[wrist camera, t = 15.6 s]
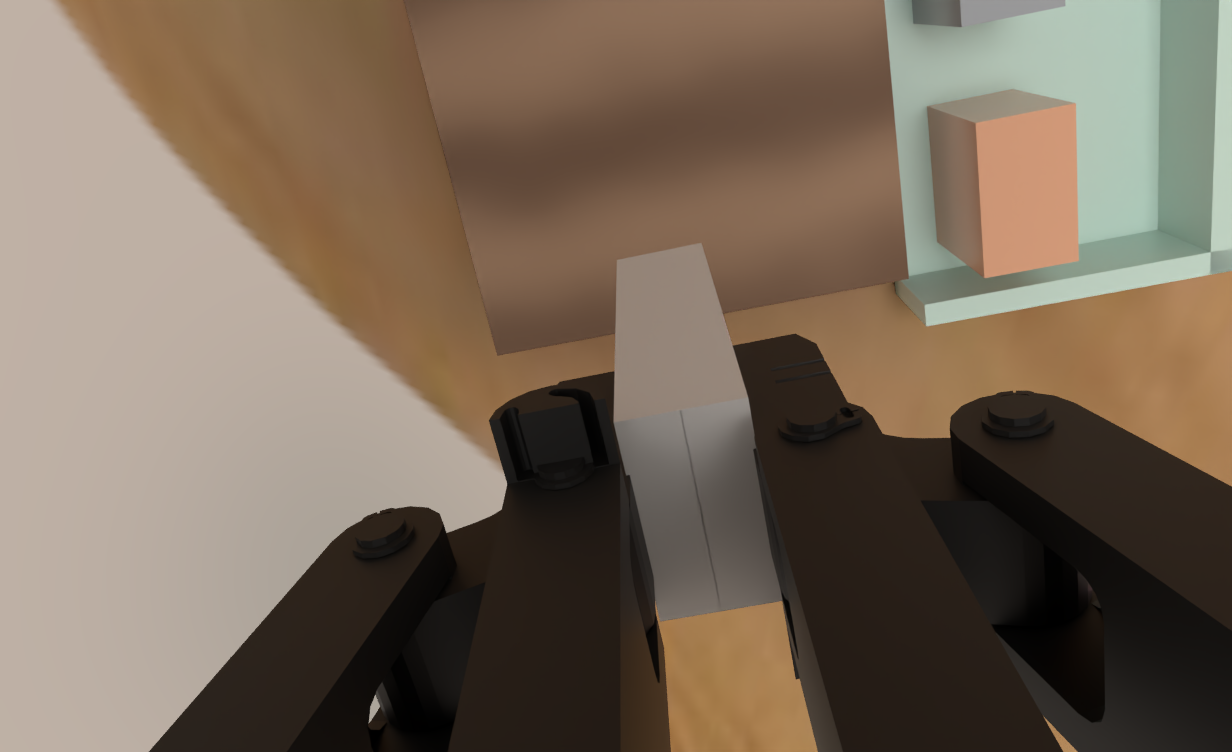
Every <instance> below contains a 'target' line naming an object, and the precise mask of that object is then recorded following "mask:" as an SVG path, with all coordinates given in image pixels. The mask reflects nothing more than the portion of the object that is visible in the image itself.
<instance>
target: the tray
mask: <svg viewBox="0 0 1232 752" xmlns="http://www.w3.org/2000/svg"><path fill="white" fill-rule="evenodd" d="M884 2H885V14H886V25H887V36H888V48H889V59H890V70H891V81H892V93H893V104H894V115H895V127H896V138H897V149H898V161H899V172H900V183H901V195H902V206H903V217H904V228H905V240H906V251H907V262H908V274H909V279H906V280H900V281H895V291H896V294H897V295H898V296H899V297H900V299H901V300H902V301H903V302H904V303H905V304H906V305H907V306H908V307H909V308H910V309H911V310H912V311H913V313H914V314H915V315H916V316H917V317H918V318H919V319H920V320H921V321H922V322H923V323H924V324H925V325H926V326H931V325H937V324H942V323H948V322H953V321H959V320H964V319H970V318H975V317H981V316H986V315H992V314H997V313H1003V312H1008V311H1014V310H1019V309H1025V308H1030V307H1036V306H1041V305H1047V304H1052V303H1058V302H1063V301H1069V300H1074V299H1080V298H1085V297H1091V296H1096V295H1102V294H1107V293H1113V292H1118V291H1124V290H1129V289H1135V288H1140V287H1146V286H1151V285H1157V284H1162V283H1168V282H1173V281H1179V280H1184V279H1189V278H1195V277H1200V276H1206V275H1211V274H1217V273H1222V272H1228V271H1232V0H1065V6H1064V7H1059V8H1054V9H1049V10H1044V11H1039V12H1034V13H1029V14H1024V15H1019V16H1015V17H1010V18H1005V19H1000V20H995V21H990V22H985V23H980V24H975V25H970V26H965V27H951V26H938V25H924V24H913V11H912V0H884ZM1010 89H1015V90H1019V91H1024V92H1028V93H1033V94H1037V95H1042V96H1046V97H1051V98H1055V99H1060V100H1064V101H1068V102H1073V103H1076V138H1077V192H1078V246H1079V261H1076V262H1071V263H1065V264H1060V265H1054V266H1049V267H1043V268H1038V269H1033V270H1027V271H1022V272H1016V273H1011V274H1005V275H1000V276H995V277H989V278H983V277H982V276H981V275H979V274H978V273H977V272H976V271H974V270H973V269H972V268H970V267H969V266H968V265H966V264H965V263H964V262H963V261H961V260H960V259H959V258H957V257H956V256H955V255H953V254H952V253H951V252H950V251H948V250H947V249H946V248H944V247H943V246H942V245H940V244H939V243H938V242H937V234H936V221H935V208H934V194H933V181H932V168H931V154H930V141H929V127H928V114H927V106H930V105H935V104H940V103H945V102H950V101H955V100H960V99H965V98H970V97H975V96H980V95H985V94H990V93H995V92H1000V91H1005V90H1010Z"/></svg>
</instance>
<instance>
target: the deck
mask: <svg viewBox="0 0 1232 752" xmlns="http://www.w3.org/2000/svg"><path fill="white" fill-rule="evenodd" d="M404 3H405V7H406V10H407V14H408V18H409V22H410V26H411V29H412V33H413V37H414V41H415V45H416V48H417V52H418V56H419V60H420V64H421V67H422V71H423V75H424V79H425V83H426V86H427V90H428V94H429V98H430V102H431V105H432V109H433V113H434V117H435V121H436V124H437V128H438V132H439V136H440V140H441V143H442V147H443V151H444V155H445V159H446V162H447V166H448V170H449V174H450V178H451V181H452V185H453V189H454V193H455V197H456V200H457V204H458V208H459V212H460V216H461V219H462V223H463V227H464V231H465V235H466V238H467V242H468V246H469V250H470V254H471V257H472V261H473V265H474V269H475V273H476V276H477V280H478V284H479V288H480V292H481V295H482V299H483V303H484V307H485V311H486V314H487V318H488V322H489V326H490V330H491V333H492V337H493V341H494V345H495V349H496V352H497V356H498V355H503V354H508V353H514V352H519V351H525V350H530V349H535V348H541V347H546V346H551V345H557V344H562V343H567V342H573V341H578V340H584V339H589V338H594V337H600V336H605V335H610V334H615V328H616V279H617V260H619V259H624V258H629V257H634V256H639V255H644V254H649V253H654V252H659V251H664V250H669V249H674V248H678V247H683V246H688V245H693V244H698V243H702V247H703V250H704V253H705V256H706V260H707V263H708V266H709V270H710V273H711V276H712V280H713V283H714V286H715V289H716V293H717V296H718V299H719V303H720V306H721V309H722V313H728V312H734V311H739V310H745V309H750V308H755V307H761V306H766V305H771V304H777V303H782V302H787V301H793V300H798V299H804V298H809V297H814V296H820V295H825V294H830V293H836V292H841V291H847V290H852V289H857V288H863V287H868V286H873V285H879V284H884V283H889V282H895V281H900V280H906V279H909V274H908V262H907V251H906V240H905V228H904V217H903V206H902V195H901V183H900V172H899V161H898V149H897V138H896V127H895V115H894V104H893V93H892V81H891V70H890V59H889V48H888V36H887V25H886V14H885V2H884V0H404Z"/></svg>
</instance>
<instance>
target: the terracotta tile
mask: <svg viewBox="0 0 1232 752" xmlns="http://www.w3.org/2000/svg"><path fill="white" fill-rule="evenodd" d="M927 114H928V127H929V141H930V154H931V168H932V181H933V194H934V208H935V221H936V234H937V242H938V243H939V244H940V245H942V246H943V247H944V248H946V249H947V250H948V251H950V252H951V253H952V254H953V255H955V256H956V257H957V258H959V259H960V260H961V261H963V262H964V263H965V264H966V265H968V266H969V267H970V268H972V269H973V270H974V271H976V272H977V273H978V274H979V275H981V276H982V277H983V278H989V277H995V276H1000V275H1005V274H1011V273H1016V272H1022V271H1027V270H1033V269H1038V268H1043V267H1049V266H1054V265H1060V264H1065V263H1071V262H1076V261H1079V246H1078V192H1077V138H1076V103H1073V102H1068V101H1064V100H1060V99H1055V98H1051V97H1046V96H1042V95H1037V94H1033V93H1028V92H1024V91H1019V90H1015V89H1010V90H1005V91H1000V92H995V93H990V94H985V95H980V96H975V97H970V98H965V99H960V100H955V101H950V102H945V103H940V104H935V105H930V106H927Z"/></svg>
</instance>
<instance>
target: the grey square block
mask: <svg viewBox="0 0 1232 752" xmlns="http://www.w3.org/2000/svg"><path fill="white" fill-rule="evenodd" d="M1064 6H1065V0H912V11H913V24H924V25H938V26H951V27H965V26H970V25H975V24H980V23H985V22H990V21H995V20H1000V19H1005V18H1010V17H1015V16H1019V15H1024V14H1029V13H1034V12H1039V11H1044V10H1049V9H1054V8H1059V7H1064Z"/></svg>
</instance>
